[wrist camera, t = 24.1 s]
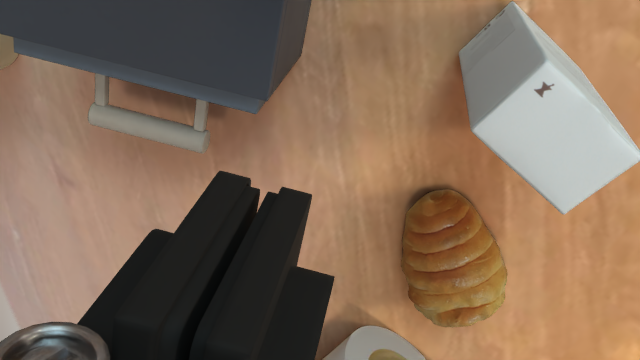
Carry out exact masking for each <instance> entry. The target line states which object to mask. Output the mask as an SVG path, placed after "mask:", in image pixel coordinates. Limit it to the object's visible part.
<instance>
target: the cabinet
mask: <svg viewBox="0 0 640 360" xmlns="http://www.w3.org/2000/svg"><path fill="white" fill-rule="evenodd" d="M310 5H311V0H0V34H2V35H6V36H10V37H14V38H18V39H22V40H26V41H30V42H34V43H38V44H42V45H46V46H50V47H54V48H58V49H62V50H66V51H69V52H73V53H77V54H81V55H85V56H89V57H93V58H97V59H101V60H105V61H109V62H113V63H117V64H121V65H125V66H129V67H133V68H137V69H141V70H144V71H148V72H152V73H156V74H160V75H164V76H168V77H172V78H176V79H180V80H184V81H188V82H192V83H196V84H200V85H204V86H208V87H212V88H216V89H219V90H223V91H227V92H231V93H235V94H239V95H243V96H247V97H251V98H255V99H259V100H263V101H268V99H269V98H270V97H271V95H272V94H273V93H274V91H275V90H276V88H277V87H278V86H279V84H280V83H281V82H282V80H283V79H284V77H285V76H286V75H287V73H288V72H289V71H290V69H291V68H292V67H293V65H294V64H295V62H296V61H297V60H298V59H299V57H300V56H301V53H302V48H303V42H304V37H305V32H306V26H307V21H308V16H309V11H310Z"/></svg>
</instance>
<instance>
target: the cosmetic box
mask: <svg viewBox="0 0 640 360" xmlns="http://www.w3.org/2000/svg"><path fill="white" fill-rule="evenodd" d="M459 59H460V65H461V71H462V78H463V84H464V90H465V97H466V102H467V109H468V115H469V121H470V128H471V131H472V132H473V133H474V134H475V135H476V136H477V137H478V138H479V139H480V140H481V141H482V142H483V143H484V144H485V145H486V146H488V147H489V148H490V149H491V150H492V151H493V152H494V153H495V154H496V155H497V156H498V157H499V158H500V159H501V160H502V161H504V162H505V163H506V164H507V165H508V166H509V167H510V168H512V169H513V170H514V171H515V172H516V173H517V174H518V175H520V176H521V177H522V178H523V179H524V180H525V181H526V182H528V183H529V184H530V185H531V186H532V187H533V188H534V189H535V190H536V191H537V192H539V193H540V194H541V195H542V196H543V197H544V198H545V199H546V200H547V201H549V202H550V203H551V204H552V205H553V206H554V207H555V208H556V209H557V210H558V211H559V212H560V213H561V214H566V213H567V212H569V211H570V210H571V209H572V208H574V207H575V206H577V205H578V204H579V203H581V202H582V201H584V200H585V199H586V198H588V197H589V196H591V195H592V194H594V193H595V192H596V191H598V190H599V189H601V188H602V187H604V186H605V185H606V184H608V183H609V182H611V181H612V180H613V179H615V178H616V177H618V176H619V175H621V174H622V173H623V172H625V171H626V170H628V169H629V168H630V167H632V166H633V165H635V164H636V163H638V162H639V161H640V150H639V149H638V147H637V146H636V145H635V143H634V142H633V140H632V139H631V138H630V136H629V135H628V133H627V132H626V130H625V129H624V128H623V126H622V125H621V123H620V122H619V121H618V120H617V118H616V117H615V115H614V114H613V113H612V111H611V110H610V109H609V107H608V106H607V104H606V103H605V102H604V100H603V99H602V98H601V96H600V95H599V94H598V92H597V91H596V90H595V88H594V87H593V85H592V84H591V83H590V81H589V80H588V79H587V77H586V76H585V74H584V73H583V72H582V70H581V69H580V68H579V67H578V66H577V65H576V64H575V63H574V62H573V61H572V60H571V58H570V57H569V56H568V55H567V54H566V53H565V52H564V51H563V50H562V49H561V48H560V47H559V46H558V45H557V44H556V43H555V42H554V41H553V40H552V39H551V38H550V37H549V36H548V35H547V34H546V33H545V32H544V31H543V30H542V29H541V28H540V27H539V26H538V25H537V24H536V23H535V22H534V21H533V20H532V19H531V18H529V17H528V16H527V15H526V14H525V13H524V12H523V11H522V10H521V9H520V8H519V7H518V5H517V4H516V3H515V2H513V1H511V2H510V3H509V4H508V5H507V6H506V7H505V8H504V9H503V10H502V11H501V12H500V13H499V14H498V15H497V16H496V17H494V18H493V19H492V20H491V21H490V22H489V23H488V24H487V25H486V26H485V27H484V28H483V29H482V30H481V31H480V32H479V33H478V34H477V35H476V36H475V37H474V38H473V39H472V40H471V41H470V42H469V43H468V44H467V45H466V46H465V47H464V48H462V49H461V50H460V51H459Z"/></svg>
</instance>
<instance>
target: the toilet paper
mask: <svg viewBox="0 0 640 360" xmlns="http://www.w3.org/2000/svg"><path fill="white" fill-rule="evenodd" d="M322 360H426V359H425V358H424V356H423V355H422V354H421V353H420V352H419V351H418V350H417V349H416V348H415V347H414V346H413V345H411V344H410V343H409V342H408V341H407V340H405V339H404V338H402V337H401V336H399V335H398V334H396V333H394V332H392V331H390V330H388V329H386V328H382V327H378V326H364V327H361V328H359V329H357V330H356V331H354V332H353V333H352V334H351V335H350V336H349V337H348V338H346V339H345V340H344V341H343V342H342V343H341V344H340V345H338V346H337V347H336V348H335V349H334V350H333V351H332V352H330V353H329V354H328V355H327V356H326V357H325V358H324V359H322Z"/></svg>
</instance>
